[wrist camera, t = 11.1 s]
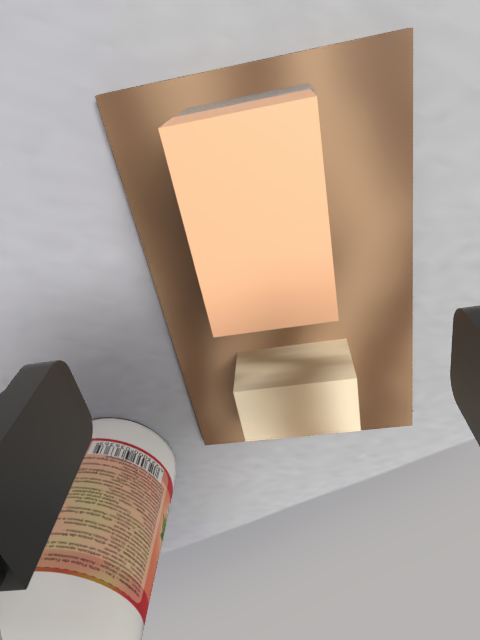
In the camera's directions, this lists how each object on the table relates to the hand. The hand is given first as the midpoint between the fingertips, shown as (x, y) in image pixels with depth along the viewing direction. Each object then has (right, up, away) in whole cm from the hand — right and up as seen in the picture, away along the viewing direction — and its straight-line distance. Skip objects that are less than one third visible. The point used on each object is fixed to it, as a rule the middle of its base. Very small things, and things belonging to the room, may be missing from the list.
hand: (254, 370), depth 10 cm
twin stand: (+2, +3, +19) cm, 19 cm away
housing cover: (0, +5, +9) cm, 10 cm away
